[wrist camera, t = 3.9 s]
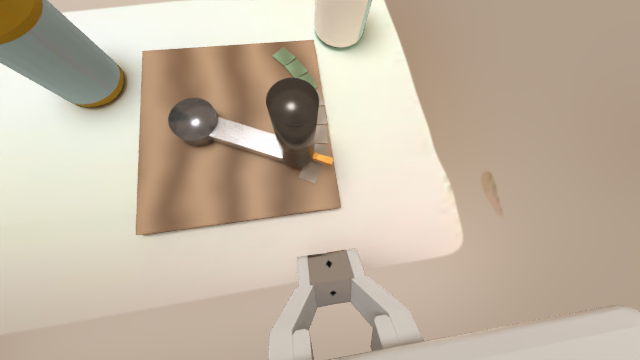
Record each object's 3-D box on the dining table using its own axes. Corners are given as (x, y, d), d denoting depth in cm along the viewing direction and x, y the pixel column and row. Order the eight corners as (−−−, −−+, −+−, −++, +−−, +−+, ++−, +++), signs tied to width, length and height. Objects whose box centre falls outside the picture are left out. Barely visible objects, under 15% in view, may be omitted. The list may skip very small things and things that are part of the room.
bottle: (139, 75, 30) (-23, -80, 15) (103, 118, 28) (-117, -8, 13) (92, 53, 30) (-109, -120, 15) (55, 95, 28) (-212, -54, 14)
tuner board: (143, 234, 25) (134, 234, 24) (148, 58, 30) (141, 49, 29) (339, 207, 27) (340, 206, 26) (313, 46, 32) (313, 38, 31)
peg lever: (170, 139, 26) (70, 67, 15) (189, 102, 27) (109, 11, 16) (324, 186, 26) (339, 151, 15) (336, 147, 27) (358, 87, 16)
